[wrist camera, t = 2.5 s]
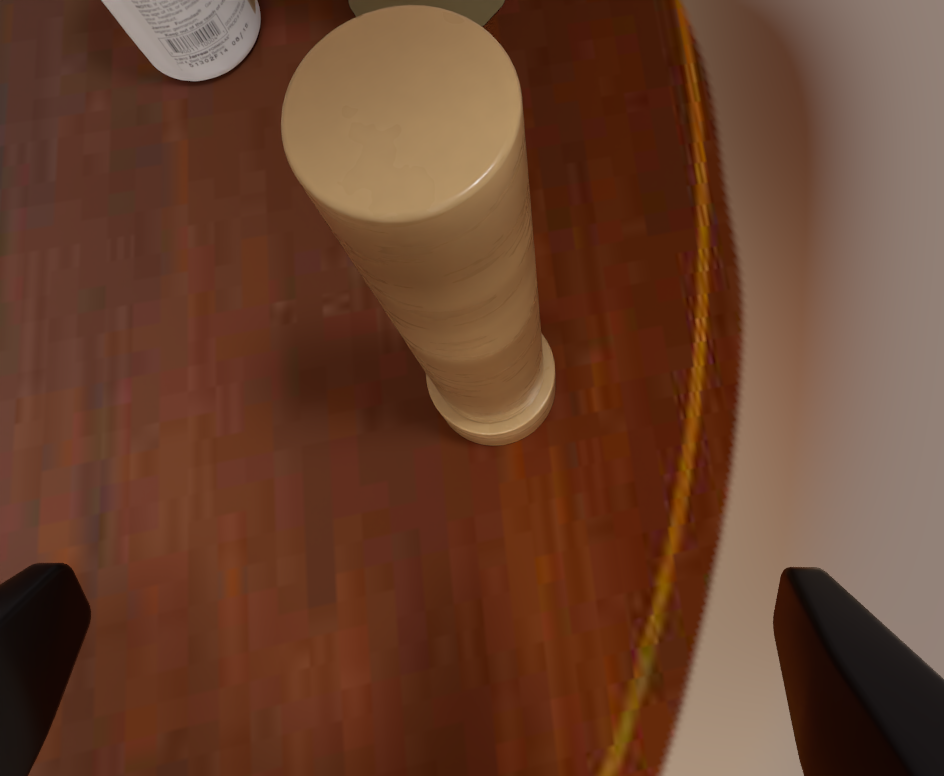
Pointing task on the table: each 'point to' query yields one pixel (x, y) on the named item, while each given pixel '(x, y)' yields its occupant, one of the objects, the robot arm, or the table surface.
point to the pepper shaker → (473, 3)
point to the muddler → (431, 203)
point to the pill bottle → (190, 33)
